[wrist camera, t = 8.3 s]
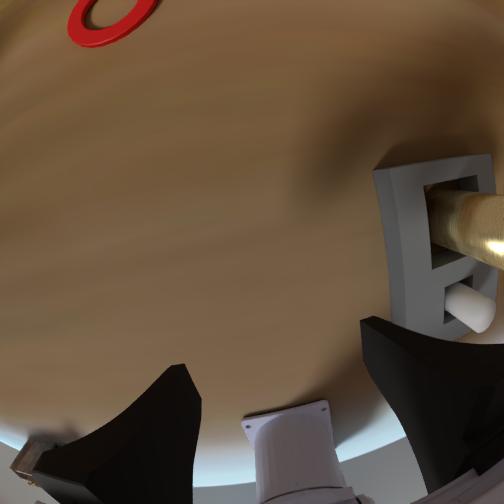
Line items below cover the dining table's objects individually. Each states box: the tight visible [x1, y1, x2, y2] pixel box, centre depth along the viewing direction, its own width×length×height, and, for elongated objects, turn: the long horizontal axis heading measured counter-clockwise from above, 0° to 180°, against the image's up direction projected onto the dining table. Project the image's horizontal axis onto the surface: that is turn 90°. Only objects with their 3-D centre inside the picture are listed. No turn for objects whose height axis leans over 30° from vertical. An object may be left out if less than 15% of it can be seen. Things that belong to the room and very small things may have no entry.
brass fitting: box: [425, 189, 504, 271], centre depth 14 cm, size 4×4×9 cm
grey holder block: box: [372, 153, 498, 341], centre depth 17 cm, size 15×11×6 cm
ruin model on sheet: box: [10, 441, 65, 488], centre depth 21 cm, size 11×3×10 cm, turn 113°
